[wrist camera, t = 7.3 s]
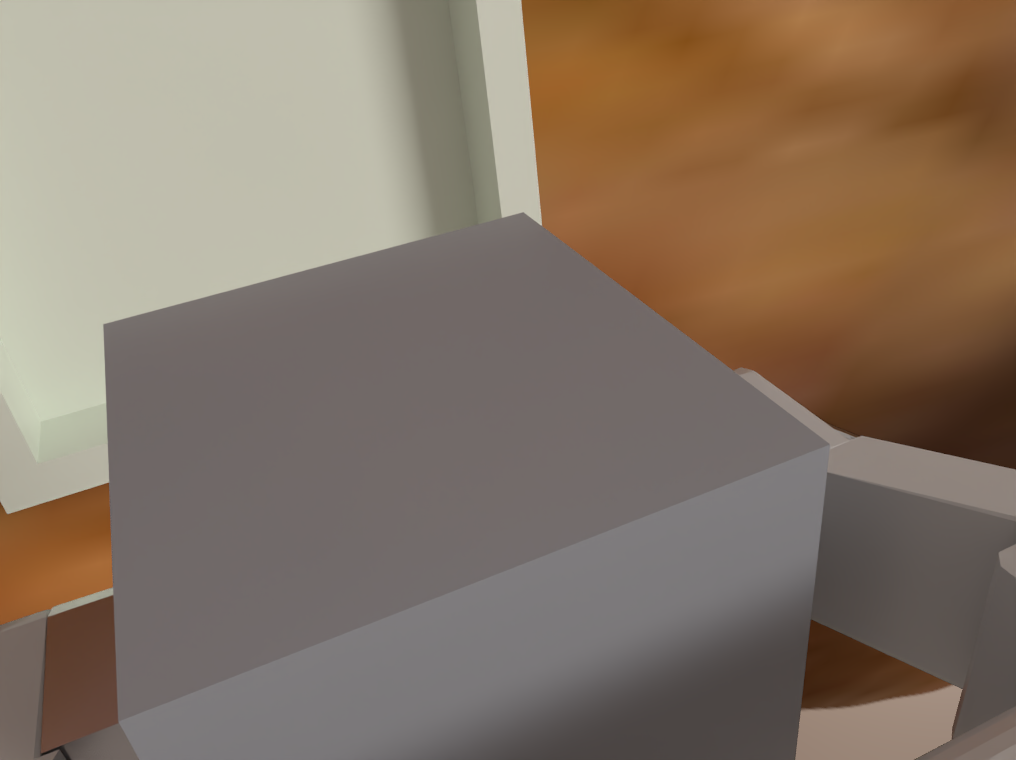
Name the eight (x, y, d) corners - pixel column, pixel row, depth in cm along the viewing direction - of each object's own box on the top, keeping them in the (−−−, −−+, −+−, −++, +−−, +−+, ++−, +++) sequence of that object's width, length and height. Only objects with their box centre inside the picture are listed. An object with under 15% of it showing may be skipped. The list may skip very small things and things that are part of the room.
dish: (447, -275, 21) (493, -294, 19) (515, 305, 30) (552, 343, 27) (-329, -203, 17) (-399, -216, 14) (15, 453, 25) (7, 514, 23)
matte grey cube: (523, 212, 10) (831, 445, 6) (556, 515, 12) (787, 827, 8) (103, 324, 8) (116, 722, 4) (232, 637, 11) (317, 1077, 7)
